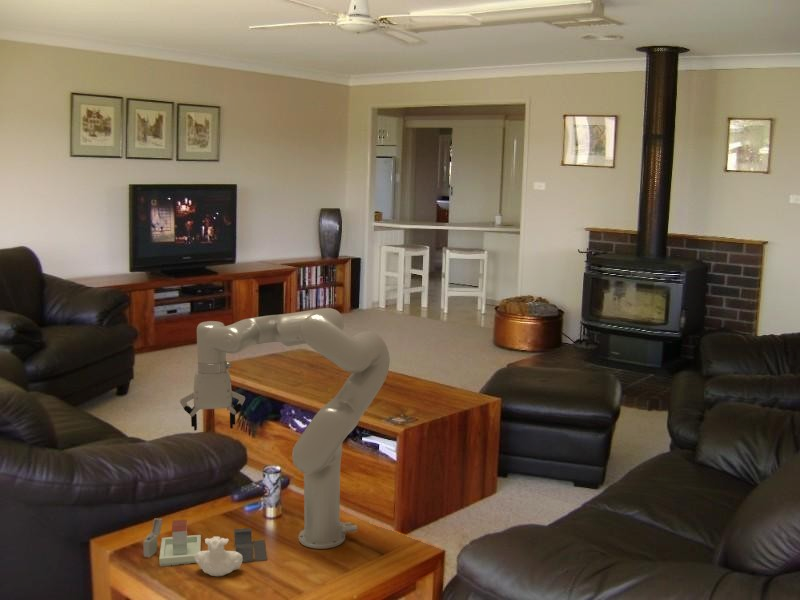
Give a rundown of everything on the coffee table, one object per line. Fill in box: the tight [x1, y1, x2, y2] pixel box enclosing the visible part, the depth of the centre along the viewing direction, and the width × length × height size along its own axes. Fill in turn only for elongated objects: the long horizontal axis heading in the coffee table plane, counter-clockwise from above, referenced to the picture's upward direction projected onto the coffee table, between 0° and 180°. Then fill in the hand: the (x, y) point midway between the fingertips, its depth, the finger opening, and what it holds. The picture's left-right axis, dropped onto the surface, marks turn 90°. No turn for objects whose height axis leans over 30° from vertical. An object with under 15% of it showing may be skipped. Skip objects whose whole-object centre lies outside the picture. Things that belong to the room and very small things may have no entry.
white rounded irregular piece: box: [194, 535, 243, 577], centre depth 212 cm, size 12×8×11 cm
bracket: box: [233, 527, 268, 563], centre depth 225 cm, size 8×11×4 cm
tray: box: [158, 534, 202, 567], centre depth 223 cm, size 10×12×2 cm
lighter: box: [142, 517, 163, 558], centre depth 224 cm, size 7×2×8 cm, turn 166°
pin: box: [171, 519, 188, 555], centre depth 223 cm, size 4×4×8 cm
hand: (213, 427), depth 236 cm, fingers open, 9 cm apart
